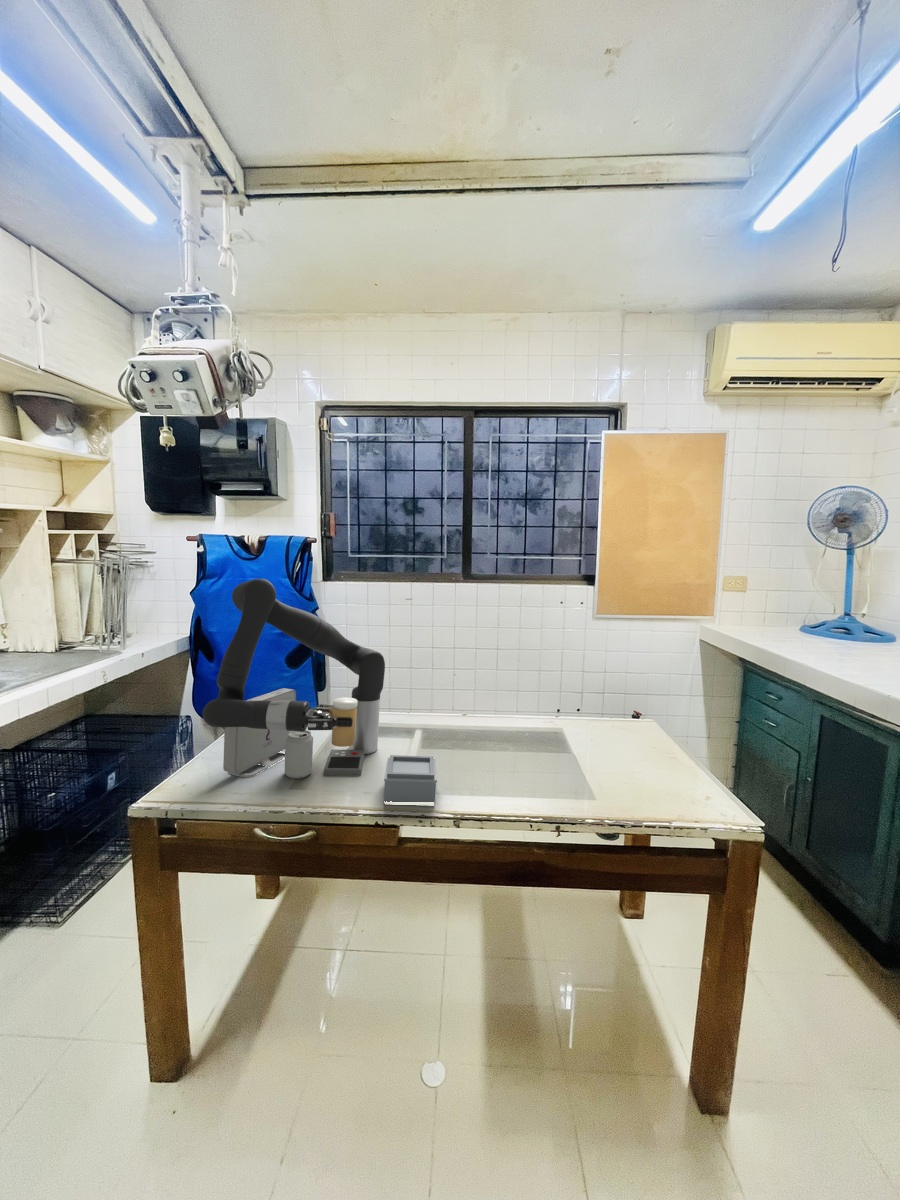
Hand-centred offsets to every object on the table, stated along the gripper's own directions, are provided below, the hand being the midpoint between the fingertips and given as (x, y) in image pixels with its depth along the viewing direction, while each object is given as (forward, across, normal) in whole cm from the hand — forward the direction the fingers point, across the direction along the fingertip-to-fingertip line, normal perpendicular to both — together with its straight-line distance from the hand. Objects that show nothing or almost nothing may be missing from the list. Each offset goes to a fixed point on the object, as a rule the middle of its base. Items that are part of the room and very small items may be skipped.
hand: (354, 718), depth 121 cm
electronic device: (-4, +19, +22) cm, 29 cm away
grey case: (+15, +2, +21) cm, 26 cm away
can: (-17, +12, +21) cm, 29 cm away
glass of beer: (-2, 0, +6) cm, 7 cm away
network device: (-29, +18, +21) cm, 40 cm away
